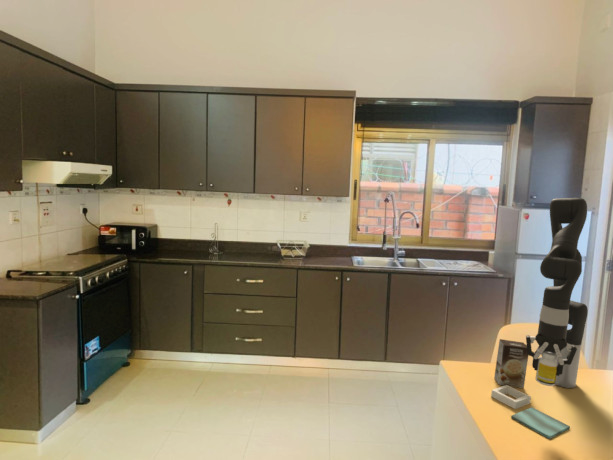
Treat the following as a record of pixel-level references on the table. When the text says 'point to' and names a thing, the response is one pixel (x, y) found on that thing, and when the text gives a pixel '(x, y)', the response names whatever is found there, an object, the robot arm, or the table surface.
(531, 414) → the teal board
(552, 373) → the supplement bottle
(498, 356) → the coffee box
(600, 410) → the table surface
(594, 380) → the table surface
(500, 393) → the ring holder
